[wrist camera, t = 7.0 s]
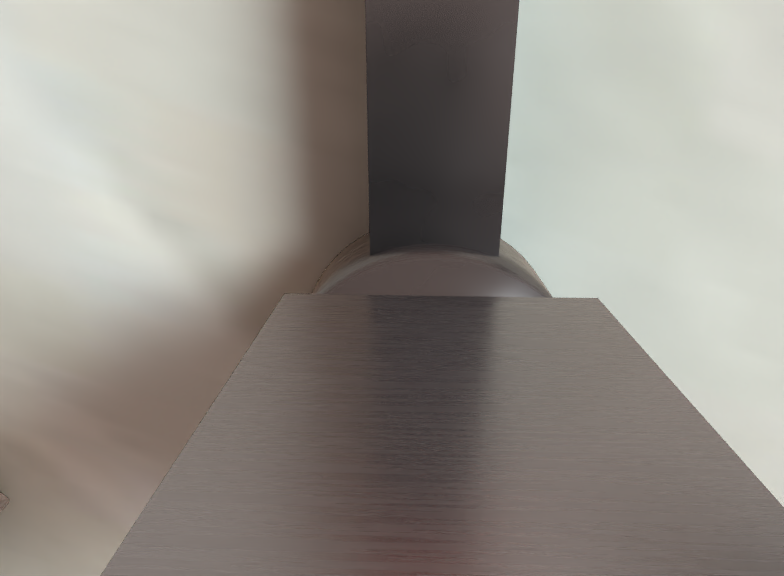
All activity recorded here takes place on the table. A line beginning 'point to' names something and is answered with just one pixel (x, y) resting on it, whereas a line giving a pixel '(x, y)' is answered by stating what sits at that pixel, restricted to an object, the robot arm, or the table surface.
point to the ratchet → (436, 154)
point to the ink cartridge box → (3, 501)
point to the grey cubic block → (452, 453)
